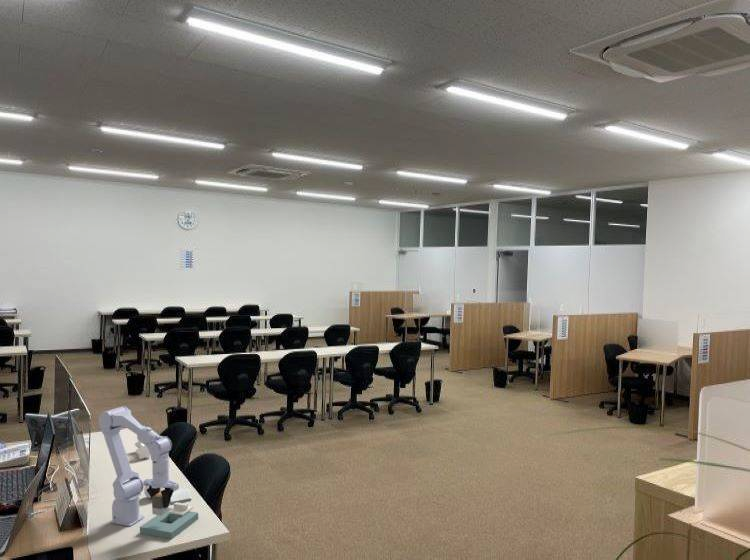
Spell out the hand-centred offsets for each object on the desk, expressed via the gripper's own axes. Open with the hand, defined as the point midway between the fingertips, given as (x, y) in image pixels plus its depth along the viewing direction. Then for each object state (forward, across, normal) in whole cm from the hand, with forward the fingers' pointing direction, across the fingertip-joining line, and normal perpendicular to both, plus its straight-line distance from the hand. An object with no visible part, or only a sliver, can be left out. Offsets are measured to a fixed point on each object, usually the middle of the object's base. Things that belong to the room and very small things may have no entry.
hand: (161, 506), depth 204 cm
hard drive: (+10, -12, +26) cm, 30 cm away
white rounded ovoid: (+9, -22, +23) cm, 33 cm away
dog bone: (+9, -62, +61) cm, 87 cm away
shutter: (+6, +1, +10) cm, 12 cm away
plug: (+2, 0, 0) cm, 2 cm away
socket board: (+9, +1, +3) cm, 10 cm away
